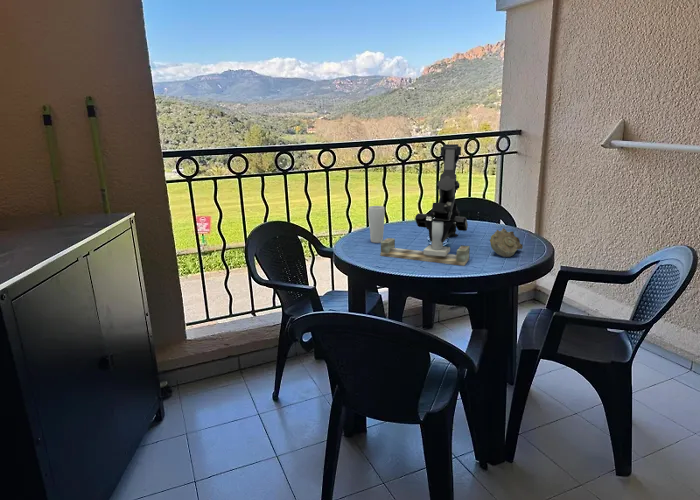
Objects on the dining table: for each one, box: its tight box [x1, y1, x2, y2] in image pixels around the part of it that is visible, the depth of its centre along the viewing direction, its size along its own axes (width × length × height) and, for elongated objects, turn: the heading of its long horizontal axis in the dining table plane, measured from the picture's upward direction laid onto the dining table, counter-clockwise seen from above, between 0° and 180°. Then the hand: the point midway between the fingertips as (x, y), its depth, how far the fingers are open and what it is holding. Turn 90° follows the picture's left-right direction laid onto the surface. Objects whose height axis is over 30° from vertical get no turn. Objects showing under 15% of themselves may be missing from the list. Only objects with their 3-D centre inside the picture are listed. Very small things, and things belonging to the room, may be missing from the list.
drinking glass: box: [367, 205, 386, 244], centre depth 185 cm, size 7×7×15 cm
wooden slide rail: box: [379, 237, 471, 267], centre depth 164 cm, size 32×8×6 cm, turn 63°
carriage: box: [423, 221, 451, 256], centre depth 160 cm, size 8×7×12 cm
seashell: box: [489, 227, 523, 258], centre depth 166 cm, size 11×14×10 cm
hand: (436, 241), depth 159 cm, fingers closed on carriage, 4 cm apart
